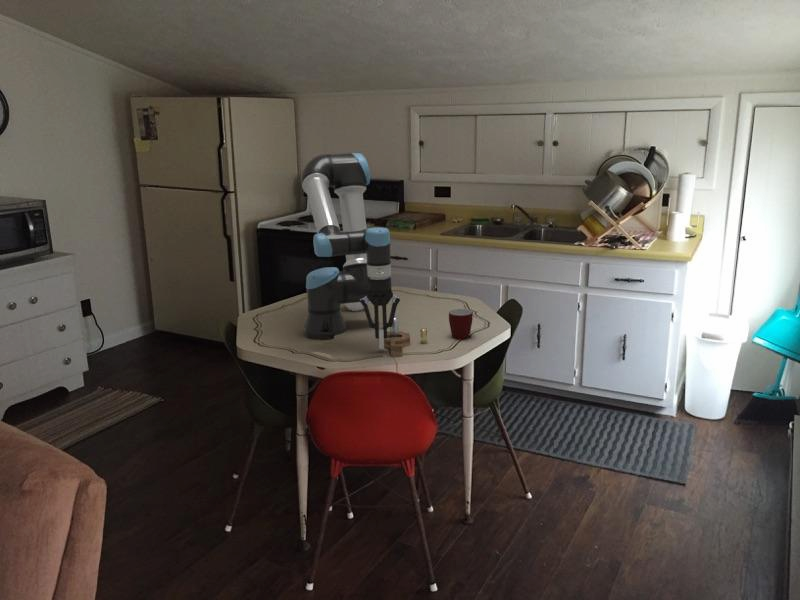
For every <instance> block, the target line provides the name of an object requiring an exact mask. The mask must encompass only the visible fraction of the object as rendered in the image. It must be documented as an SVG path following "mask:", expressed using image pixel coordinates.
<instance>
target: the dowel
mask: <svg viewBox="0 0 800 600" xmlns="http://www.w3.org/2000/svg"><path fill="white" fill-rule="evenodd" d="M419 332H420V344H421V345H427V344H428V328H426V327H421V328H420V331H419Z"/></svg>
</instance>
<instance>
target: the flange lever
mask: <svg viewBox="0 0 800 600" xmlns="http://www.w3.org/2000/svg"><path fill="white" fill-rule="evenodd" d="M410 345H411V336H410V333H408V332H404V331H401V330H399V337H398V338H390V331H387V338H384V348H388V349H390V357H391V358H392V357H393V358H394V357H403V349H404V348H405V347H408V346H410Z"/></svg>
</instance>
